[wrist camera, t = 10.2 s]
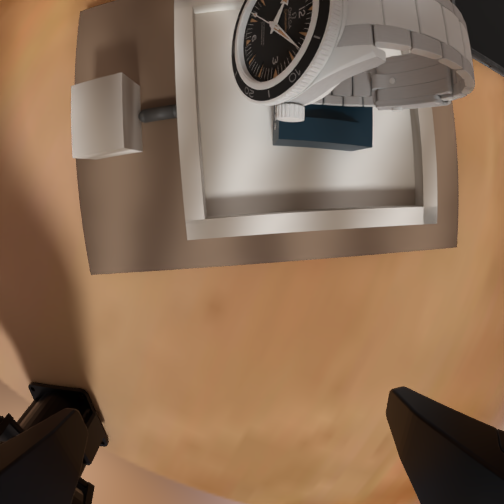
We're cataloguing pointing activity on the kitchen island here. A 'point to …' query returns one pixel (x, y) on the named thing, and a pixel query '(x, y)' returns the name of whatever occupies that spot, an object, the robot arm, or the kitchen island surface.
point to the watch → (347, 64)
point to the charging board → (233, 156)
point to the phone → (485, 30)
